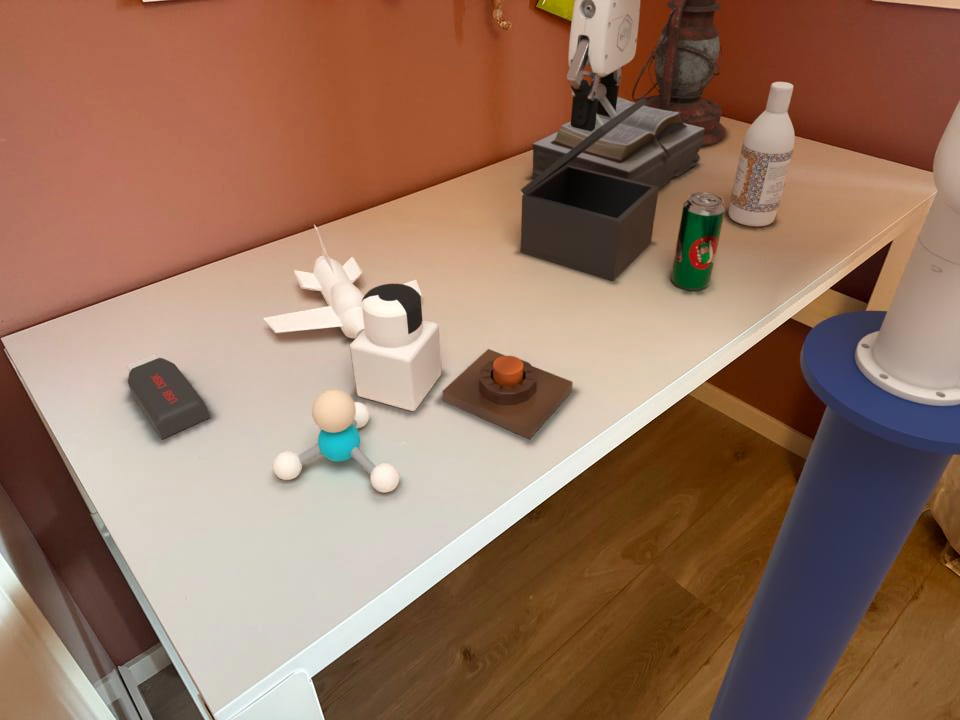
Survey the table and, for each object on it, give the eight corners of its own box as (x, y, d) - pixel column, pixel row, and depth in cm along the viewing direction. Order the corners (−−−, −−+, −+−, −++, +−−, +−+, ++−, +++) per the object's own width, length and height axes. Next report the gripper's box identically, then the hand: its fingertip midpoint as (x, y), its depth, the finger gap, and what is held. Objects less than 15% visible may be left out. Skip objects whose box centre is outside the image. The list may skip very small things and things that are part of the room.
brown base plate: (572, 391, 79) (573, 370, 77) (530, 439, 73) (530, 417, 71) (488, 358, 83) (488, 337, 82) (442, 400, 78) (441, 379, 76)
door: (647, 102, 94) (622, 65, 93) (604, 132, 86) (576, 91, 85) (568, 163, 105) (545, 130, 105) (523, 194, 97) (498, 159, 97)
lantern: (650, 107, 150) (671, -56, 132) (739, 125, 142) (775, -48, 123) (608, 135, 138) (625, -41, 120) (702, 156, 130) (737, -30, 111)
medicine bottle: (387, 359, 83) (376, 270, 76) (442, 374, 81) (437, 283, 74) (356, 397, 78) (341, 305, 71) (414, 413, 76) (405, 320, 69)
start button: (528, 374, 77) (529, 361, 76) (512, 390, 75) (513, 377, 74) (503, 364, 78) (503, 351, 77) (487, 380, 76) (487, 367, 75)
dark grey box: (650, 243, 105) (659, 186, 99) (613, 281, 96) (620, 222, 91) (562, 218, 111) (566, 164, 106) (520, 252, 103) (521, 195, 97)
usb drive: (161, 440, 73) (154, 420, 72) (123, 382, 81) (115, 363, 79) (210, 417, 76) (204, 398, 74) (169, 364, 83) (162, 345, 82)
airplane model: (282, 372, 82) (269, 318, 77) (249, 290, 96) (236, 240, 91) (443, 328, 88) (441, 275, 84) (390, 256, 102) (385, 208, 98)
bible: (720, 172, 124) (732, 115, 118) (609, 217, 111) (616, 156, 105) (622, 134, 139) (628, 82, 133) (514, 170, 126) (515, 113, 120)
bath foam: (722, 207, 113) (750, 77, 101) (767, 207, 113) (800, 77, 101) (733, 228, 108) (763, 92, 96) (780, 228, 108) (816, 92, 95)
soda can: (675, 269, 99) (690, 187, 91) (712, 277, 97) (730, 194, 89) (666, 287, 95) (680, 203, 88) (704, 295, 93) (722, 211, 86)
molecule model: (270, 508, 66) (250, 439, 61) (285, 421, 75) (269, 355, 70) (401, 497, 67) (392, 429, 61) (399, 413, 76) (392, 346, 71)
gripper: (607, -19, 74) (588, 150, 86) (670, -44, 85) (646, 108, 97) (544, -28, 77) (534, 136, 89) (613, -51, 88) (596, 97, 100)
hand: (593, 120), depth 93 cm, fingers closed on door, 5 cm apart
